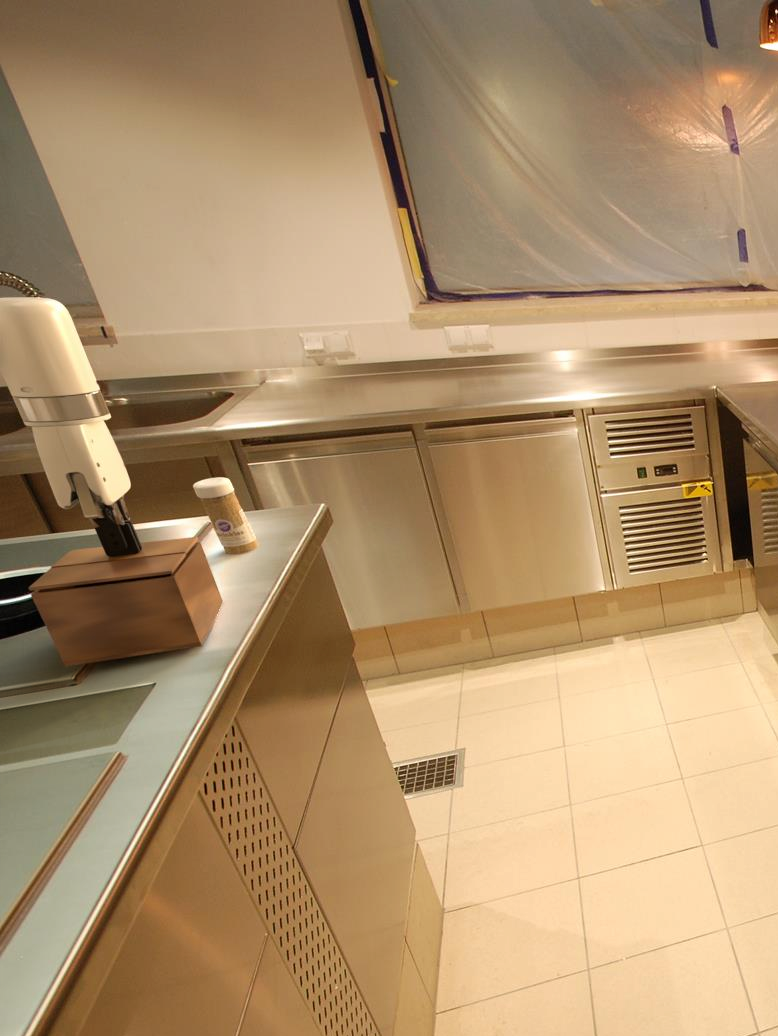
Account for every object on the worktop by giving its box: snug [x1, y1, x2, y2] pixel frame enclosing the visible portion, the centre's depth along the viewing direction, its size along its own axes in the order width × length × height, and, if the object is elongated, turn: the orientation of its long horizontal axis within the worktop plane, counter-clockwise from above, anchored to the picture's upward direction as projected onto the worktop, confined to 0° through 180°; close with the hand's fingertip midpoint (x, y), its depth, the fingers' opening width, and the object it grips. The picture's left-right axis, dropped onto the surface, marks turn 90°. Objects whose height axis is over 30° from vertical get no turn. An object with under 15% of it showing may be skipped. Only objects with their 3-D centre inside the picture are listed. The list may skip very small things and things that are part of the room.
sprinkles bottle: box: [192, 476, 260, 555], centre depth 132 cm, size 5×5×14 cm
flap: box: [50, 536, 199, 568], centre depth 109 cm, size 13×7×1 cm, turn 120°
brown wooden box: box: [28, 541, 224, 667], centre depth 108 cm, size 13×15×10 cm
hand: (125, 553), depth 108 cm, fingers closed
